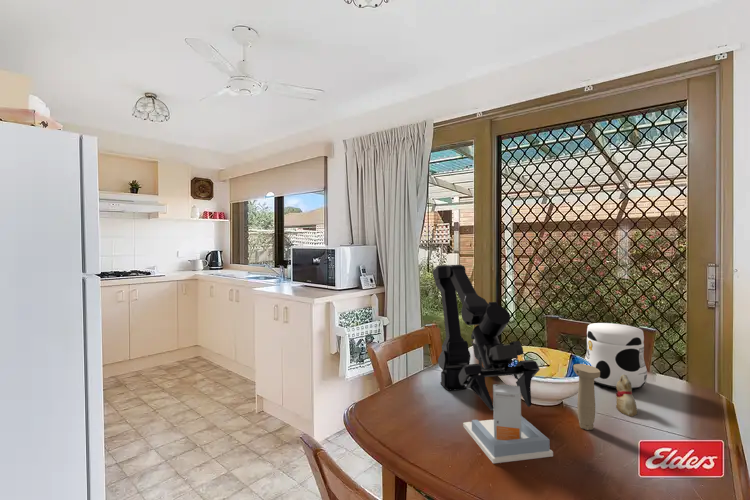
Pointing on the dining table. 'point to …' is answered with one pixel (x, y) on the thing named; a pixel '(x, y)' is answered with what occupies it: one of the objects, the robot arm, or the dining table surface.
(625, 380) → the chocolate bunny
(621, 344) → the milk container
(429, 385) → the dining table surface
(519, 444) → the stop cradle
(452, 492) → the dining table surface
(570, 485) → the dining table surface
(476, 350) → the sundae
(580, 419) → the handle
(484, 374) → the robot arm
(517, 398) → the skincare box
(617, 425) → the dining table surface
